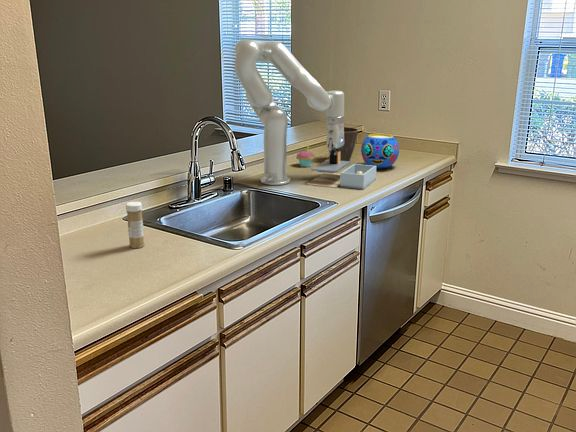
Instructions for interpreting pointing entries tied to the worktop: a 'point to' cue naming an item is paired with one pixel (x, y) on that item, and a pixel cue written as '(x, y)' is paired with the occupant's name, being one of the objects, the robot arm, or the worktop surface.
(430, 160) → the worktop surface
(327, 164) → the lid
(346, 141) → the plant pot
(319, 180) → the mat
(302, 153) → the cupcake
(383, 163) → the ceramic pot
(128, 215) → the sprinkles bottle
